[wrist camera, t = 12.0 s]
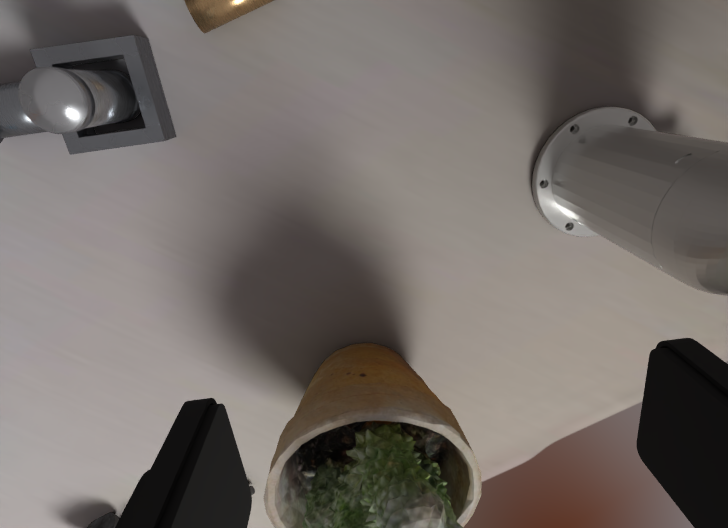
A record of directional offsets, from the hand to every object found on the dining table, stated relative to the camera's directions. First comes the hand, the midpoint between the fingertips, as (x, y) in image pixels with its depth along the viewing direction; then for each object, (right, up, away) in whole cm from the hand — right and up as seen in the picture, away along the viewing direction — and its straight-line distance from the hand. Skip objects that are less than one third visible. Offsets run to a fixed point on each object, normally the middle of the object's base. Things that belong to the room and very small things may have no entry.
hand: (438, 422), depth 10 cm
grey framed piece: (-26, +18, +29) cm, 43 cm away
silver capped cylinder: (-23, +18, +29) cm, 41 cm away
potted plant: (-2, -10, +42) cm, 44 cm away
